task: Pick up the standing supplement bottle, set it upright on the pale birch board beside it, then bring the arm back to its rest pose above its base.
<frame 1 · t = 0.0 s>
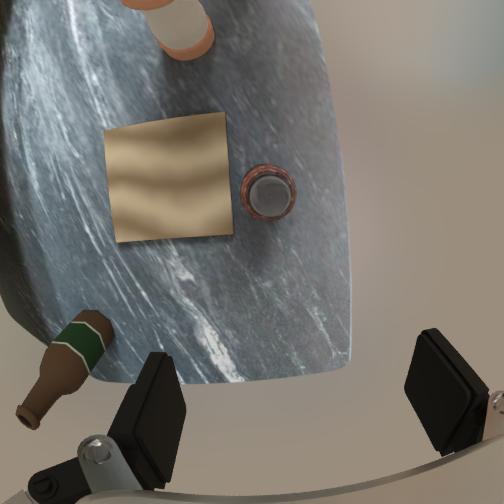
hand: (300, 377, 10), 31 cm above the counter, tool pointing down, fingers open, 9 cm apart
supplement bottle: (264, 186, 39), on the counter
beer bottle: (97, 326, 46), on the counter
birch board: (166, 178, 38), on the counter
pepper shaker: (188, 39, 32), on the counter
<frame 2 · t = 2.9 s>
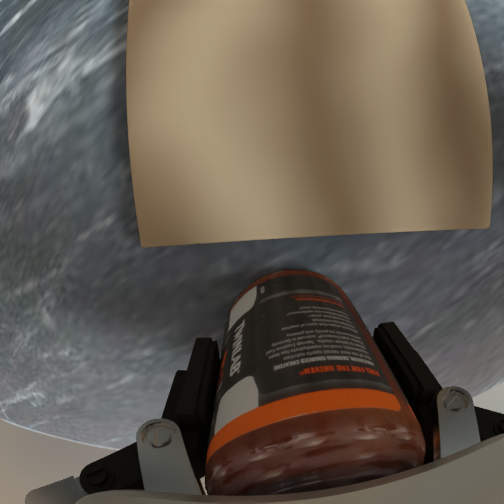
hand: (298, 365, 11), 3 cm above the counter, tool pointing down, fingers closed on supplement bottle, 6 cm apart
supplement bottle: (289, 321, 14), on the counter, touching gripper
birch board: (323, 35, 10), on the counter
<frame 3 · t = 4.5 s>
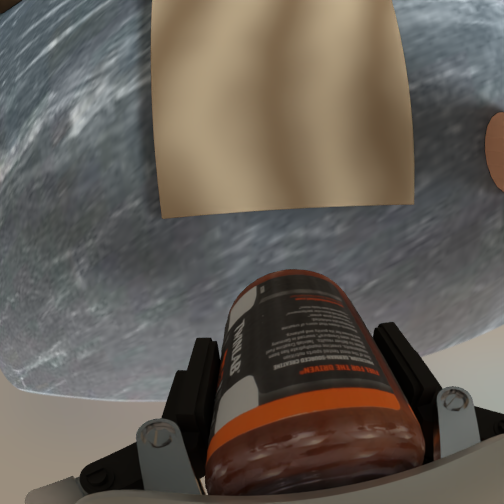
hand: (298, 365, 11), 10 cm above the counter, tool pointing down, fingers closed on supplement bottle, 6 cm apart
supplement bottle: (289, 321, 14), point 6 cm above the counter, touching gripper
birch board: (284, 73, 16), on the counter
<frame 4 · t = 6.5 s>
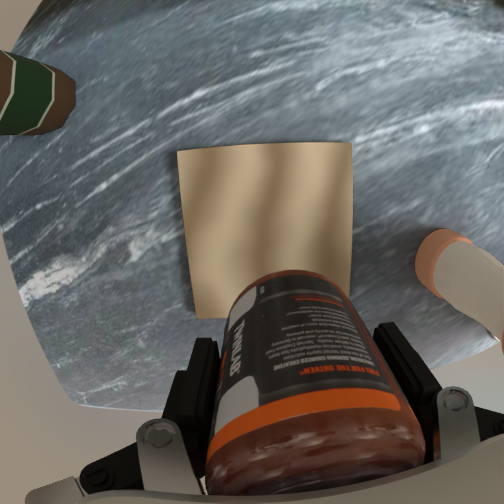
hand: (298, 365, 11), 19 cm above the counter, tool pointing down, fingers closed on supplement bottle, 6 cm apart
supplement bottle: (289, 321, 14), point 16 cm above the counter, touching gripper
beer bottle: (53, 102, 25), on the counter
birch board: (269, 232, 29), on the counter
pepper shaker: (438, 258, 30), on the counter
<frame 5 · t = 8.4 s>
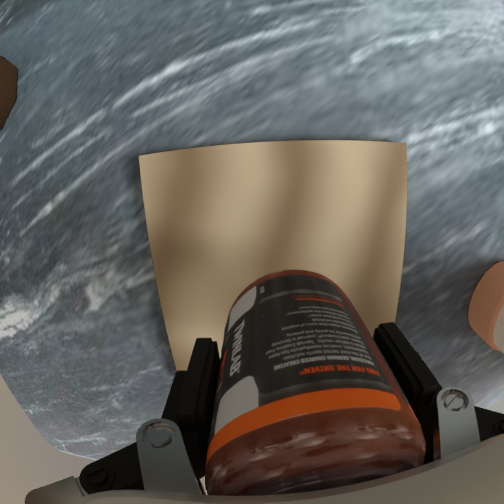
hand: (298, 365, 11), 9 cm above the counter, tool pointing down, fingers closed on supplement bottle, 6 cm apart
supplement bottle: (289, 321, 14), point 6 cm above the counter, touching gripper
birch board: (282, 276, 19), on the counter
pepper shaker: (493, 297, 20), on the counter
when the fingers open (5 cm above the counter, at t = 10.0 s): supplement bottle drops 1 cm, resting on birch board.
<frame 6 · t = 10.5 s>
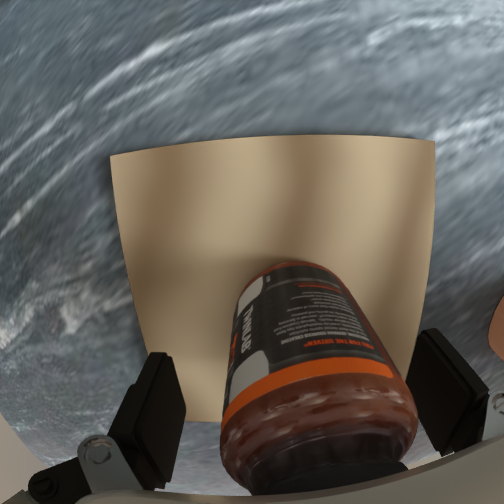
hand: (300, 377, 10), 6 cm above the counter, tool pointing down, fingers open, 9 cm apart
supplement bottle: (292, 310, 15), point 1 cm above the counter, touching birch board
birch board: (285, 300, 16), on the counter
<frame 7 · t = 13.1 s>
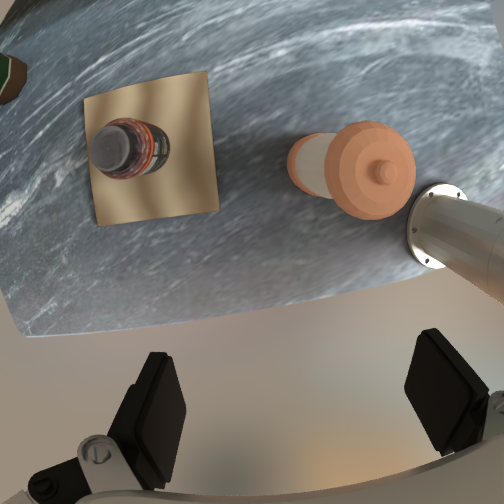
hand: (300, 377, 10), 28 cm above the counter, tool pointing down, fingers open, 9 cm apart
supplement bottle: (148, 149, 32), point 1 cm above the counter, touching birch board
beer bottle: (13, 81, 28), on the counter
birch board: (148, 149, 33), on the counter
pepper shaker: (315, 164, 35), on the counter
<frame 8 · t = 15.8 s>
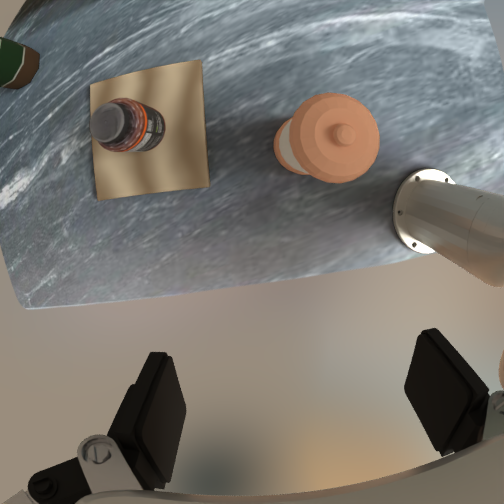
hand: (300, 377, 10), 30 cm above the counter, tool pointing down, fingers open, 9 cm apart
supplement bottle: (146, 130, 34), point 1 cm above the counter, touching birch board
beer bottle: (26, 68, 31), on the counter
birch board: (146, 130, 35), on the counter
pepper shaker: (301, 145, 36), on the counter
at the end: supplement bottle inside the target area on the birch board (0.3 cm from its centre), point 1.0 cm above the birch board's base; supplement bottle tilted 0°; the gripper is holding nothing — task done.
